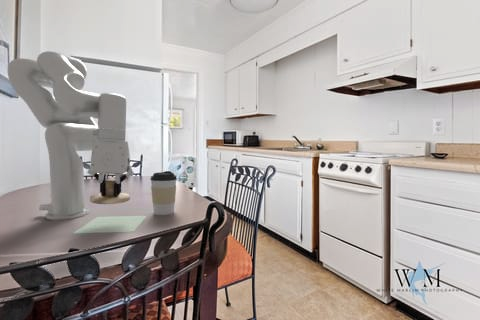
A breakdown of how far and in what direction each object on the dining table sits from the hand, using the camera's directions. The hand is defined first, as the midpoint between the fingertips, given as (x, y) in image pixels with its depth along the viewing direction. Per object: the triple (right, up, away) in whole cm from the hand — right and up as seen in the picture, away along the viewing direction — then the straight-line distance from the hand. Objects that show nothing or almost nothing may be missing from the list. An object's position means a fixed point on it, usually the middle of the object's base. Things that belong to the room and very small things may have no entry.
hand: (110, 194), depth 80 cm
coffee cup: (+12, -9, +14) cm, 20 cm away
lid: (0, -1, 0) cm, 1 cm away
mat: (+1, -9, 0) cm, 9 cm away
